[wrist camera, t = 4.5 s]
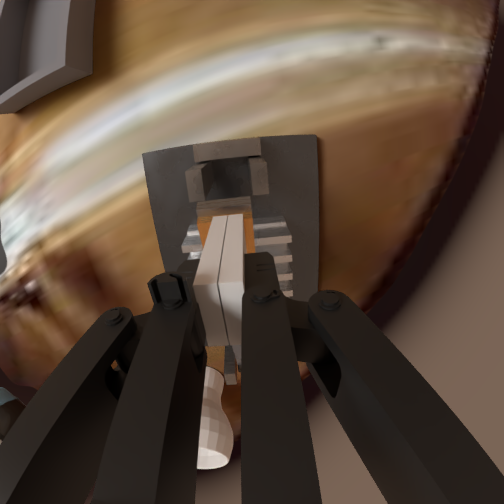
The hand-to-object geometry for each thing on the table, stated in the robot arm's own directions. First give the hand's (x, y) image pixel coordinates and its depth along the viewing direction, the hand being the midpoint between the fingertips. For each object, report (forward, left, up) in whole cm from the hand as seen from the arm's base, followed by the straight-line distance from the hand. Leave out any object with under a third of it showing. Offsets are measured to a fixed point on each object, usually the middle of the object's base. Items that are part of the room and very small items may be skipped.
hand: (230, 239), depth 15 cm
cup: (-9, -30, -16) cm, 35 cm away
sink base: (0, -8, -15) cm, 17 cm away
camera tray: (-22, +27, -15) cm, 38 cm away
